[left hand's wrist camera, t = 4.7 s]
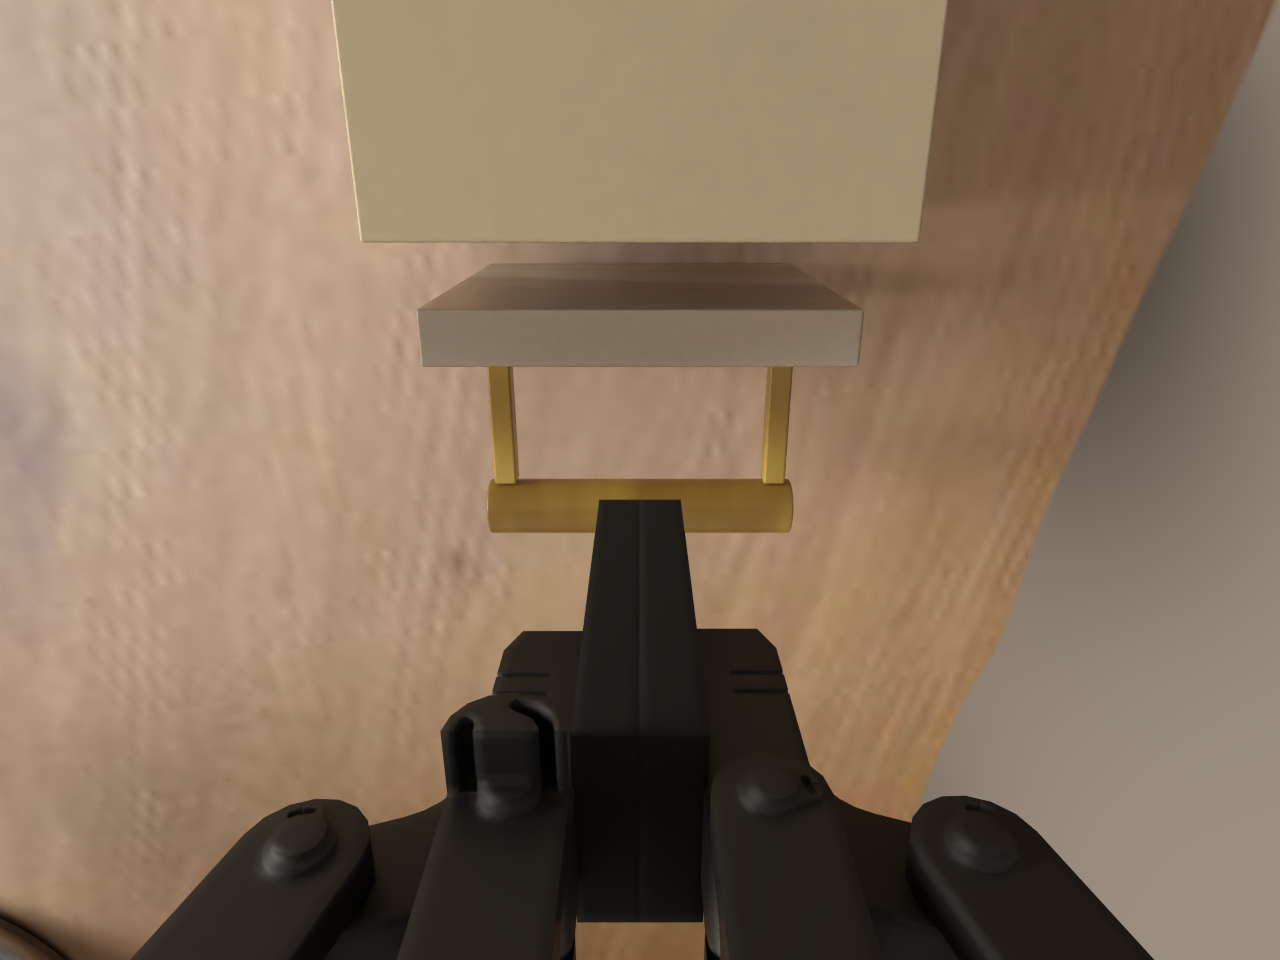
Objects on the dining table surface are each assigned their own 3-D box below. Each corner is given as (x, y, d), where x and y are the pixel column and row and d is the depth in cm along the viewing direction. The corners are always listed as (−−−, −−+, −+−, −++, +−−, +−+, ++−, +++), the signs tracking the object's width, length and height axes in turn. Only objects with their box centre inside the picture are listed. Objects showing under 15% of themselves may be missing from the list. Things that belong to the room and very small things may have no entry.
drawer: (776, 478, 27) (834, 611, 19) (504, 478, 27) (445, 611, 19) (832, -371, 19) (974, -771, 11) (447, -371, 19) (304, -771, 11)
